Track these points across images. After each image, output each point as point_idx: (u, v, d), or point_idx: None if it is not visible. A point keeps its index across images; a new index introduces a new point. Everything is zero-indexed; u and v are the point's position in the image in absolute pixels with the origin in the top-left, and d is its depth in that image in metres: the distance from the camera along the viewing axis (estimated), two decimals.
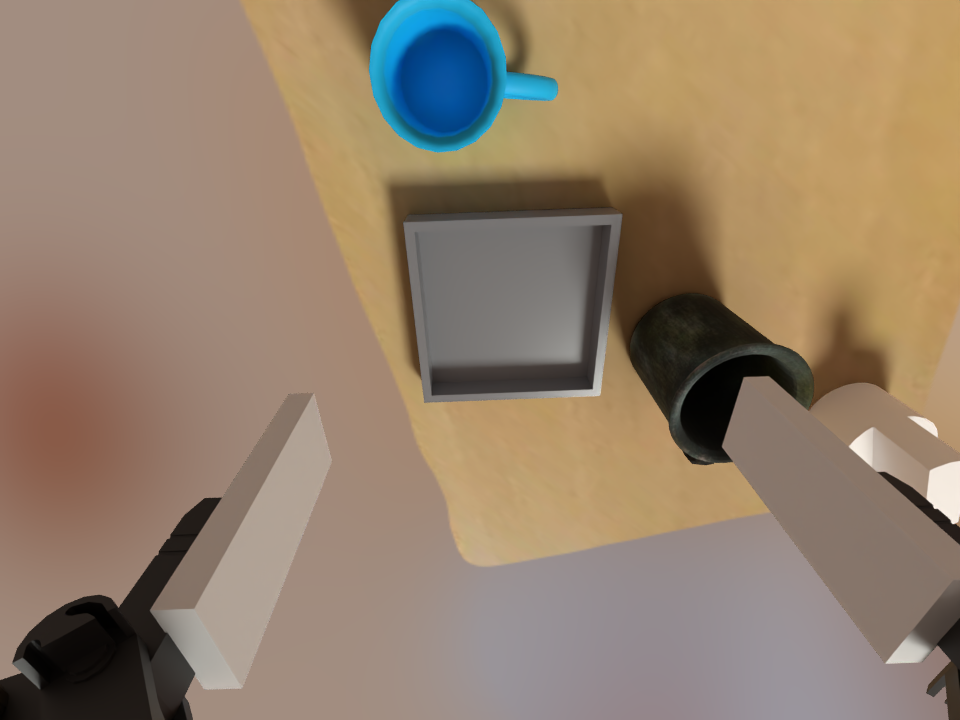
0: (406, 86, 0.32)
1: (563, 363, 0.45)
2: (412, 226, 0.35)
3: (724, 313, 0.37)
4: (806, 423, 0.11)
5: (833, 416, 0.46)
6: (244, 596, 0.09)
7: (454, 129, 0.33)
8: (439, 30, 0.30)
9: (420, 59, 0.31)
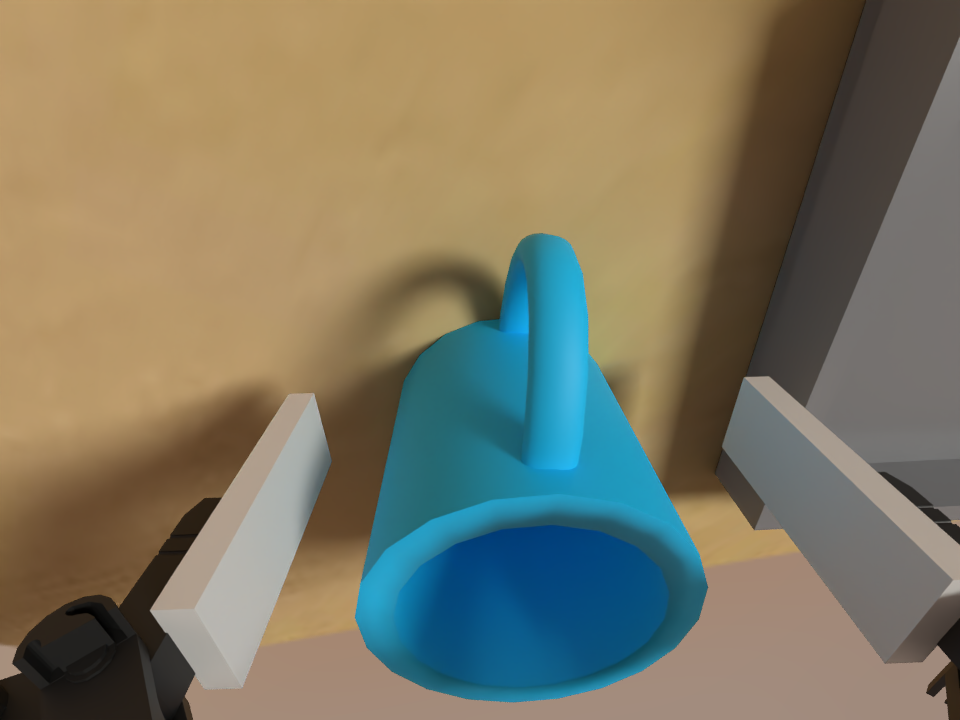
0: None
1: None
2: (767, 516, 0.16)
3: None
4: (806, 423, 0.11)
5: None
6: (244, 596, 0.09)
7: None
8: None
9: None
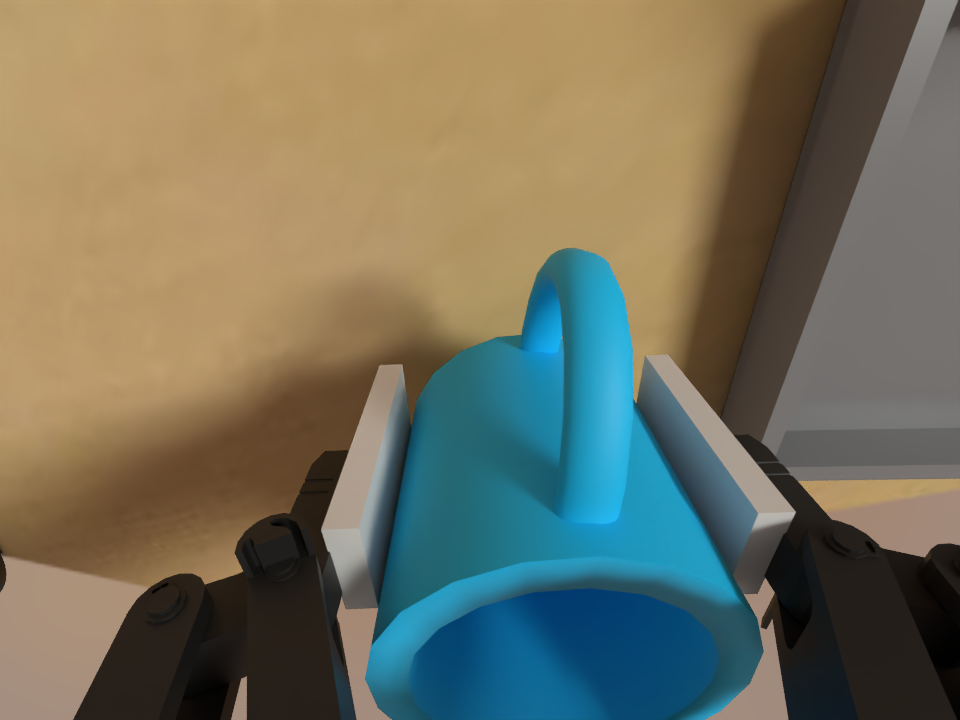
0: None
1: None
2: None
3: None
4: (685, 393, 0.12)
5: None
6: (377, 529, 0.10)
7: None
8: None
9: None
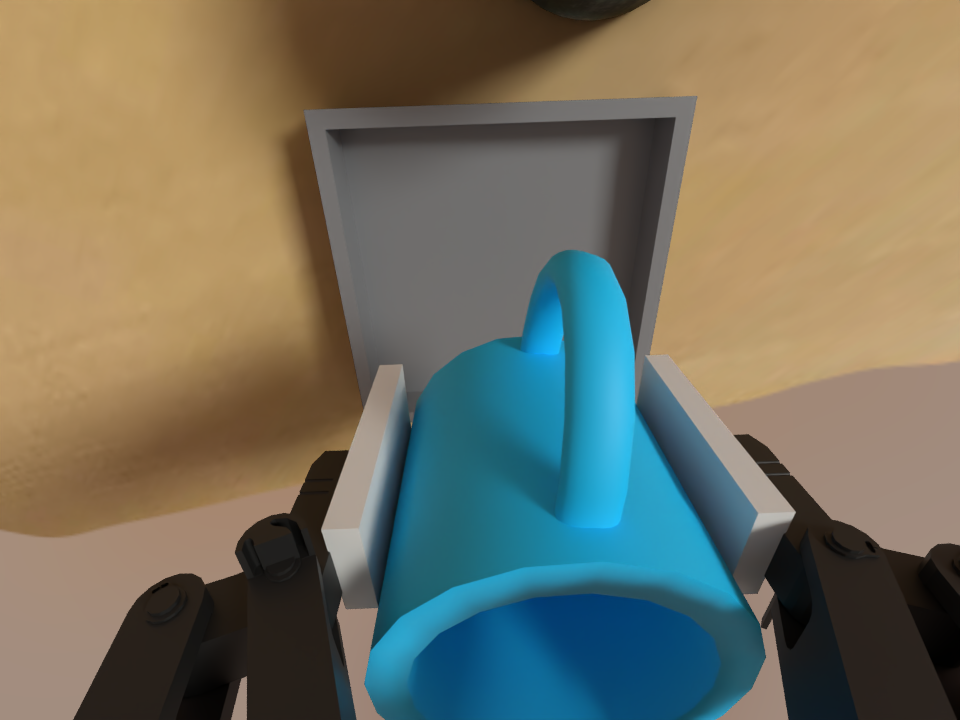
0: None
1: (616, 172, 0.23)
2: None
3: None
4: (685, 393, 0.12)
5: None
6: (377, 529, 0.10)
7: None
8: None
9: None
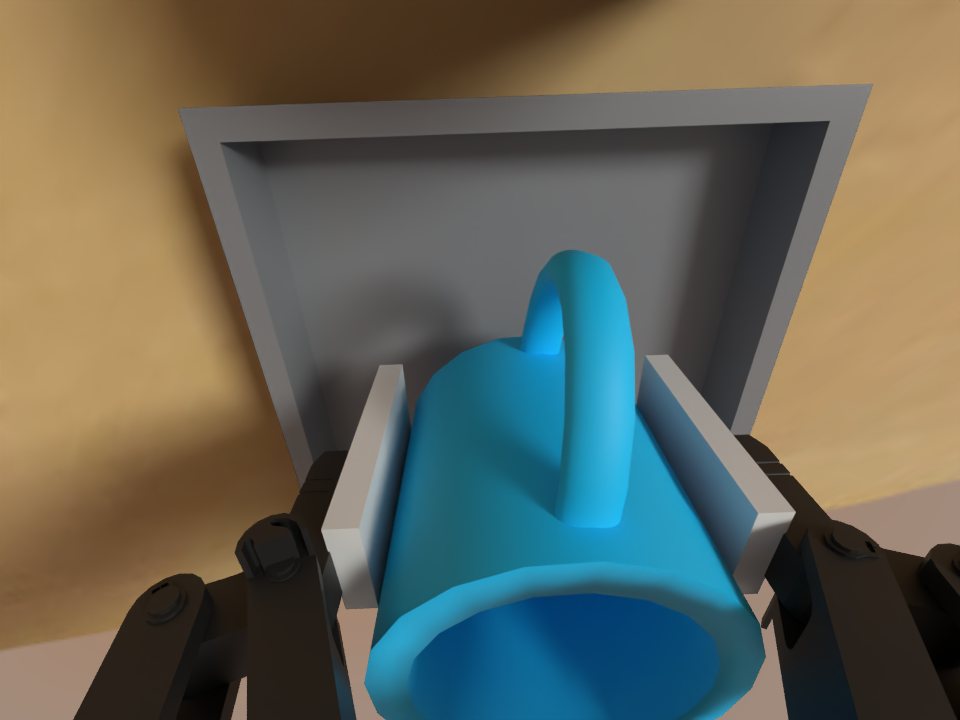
0: None
1: (701, 207, 0.15)
2: None
3: None
4: (685, 393, 0.12)
5: None
6: (377, 529, 0.10)
7: None
8: None
9: None
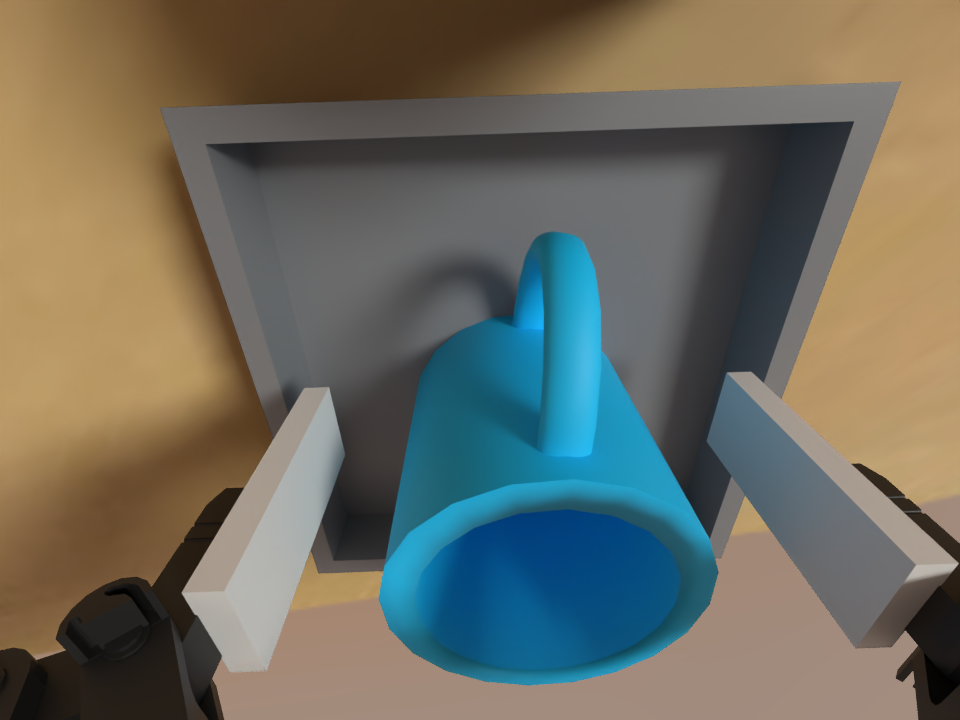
0: None
1: (713, 212, 0.14)
2: (322, 562, 0.19)
3: None
4: (784, 417, 0.11)
5: None
6: (268, 582, 0.09)
7: None
8: None
9: None
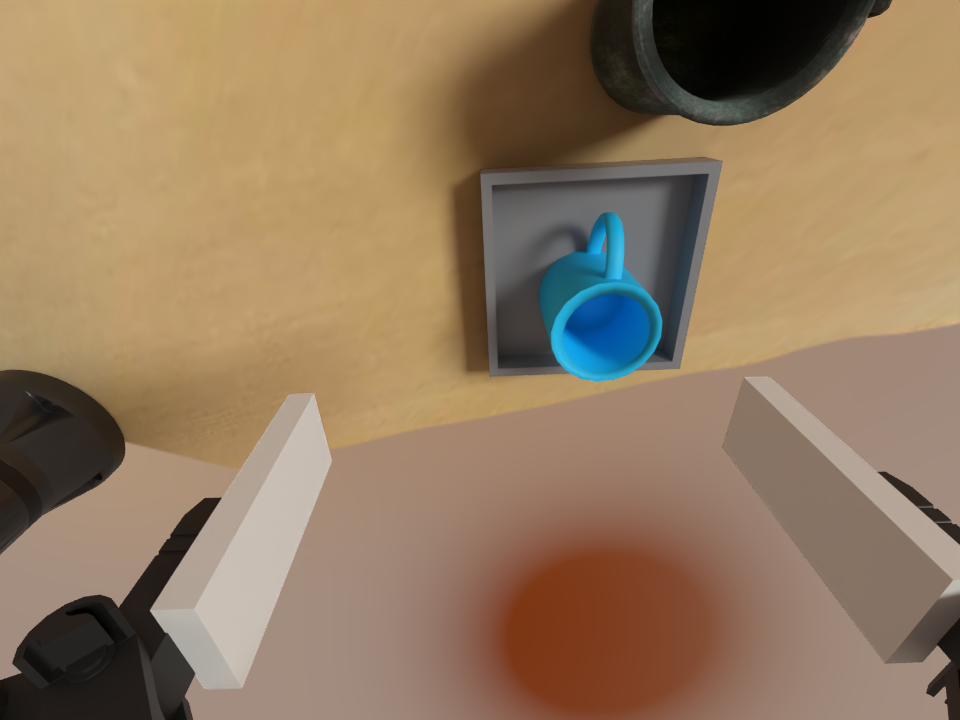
0: (586, 328, 0.40)
1: (667, 204, 0.35)
2: (492, 369, 0.40)
3: (610, 4, 0.25)
4: (806, 423, 0.11)
5: None
6: (244, 596, 0.09)
7: None
8: None
9: (568, 317, 0.39)
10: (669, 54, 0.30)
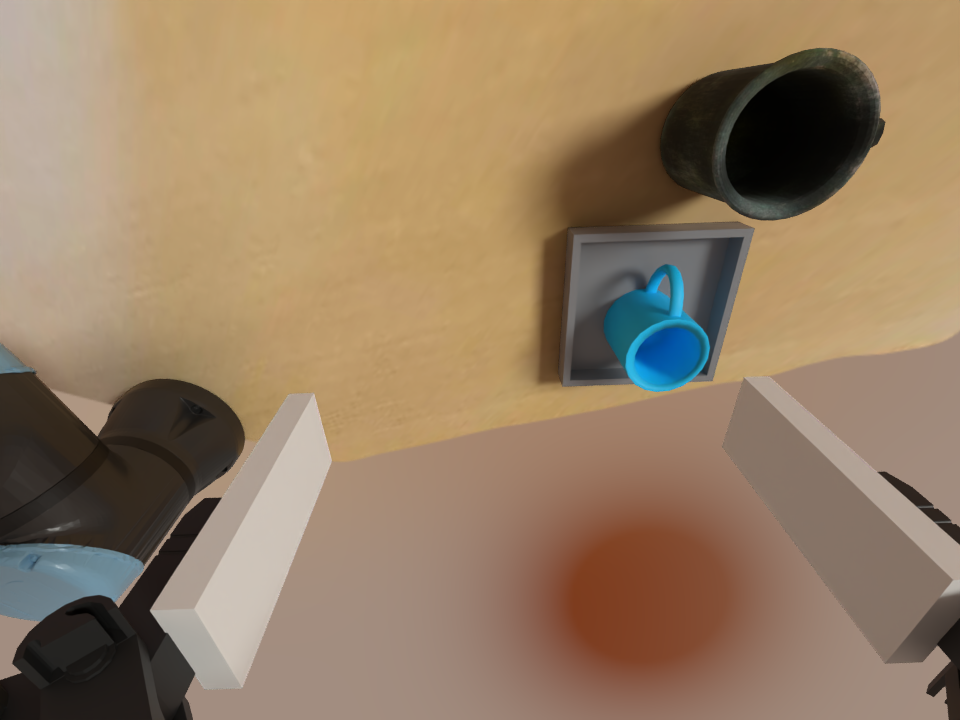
0: (640, 348, 0.50)
1: (709, 256, 0.46)
2: (565, 381, 0.51)
3: (685, 127, 0.36)
4: (806, 423, 0.11)
5: None
6: (244, 596, 0.09)
7: None
8: None
9: None
10: None
